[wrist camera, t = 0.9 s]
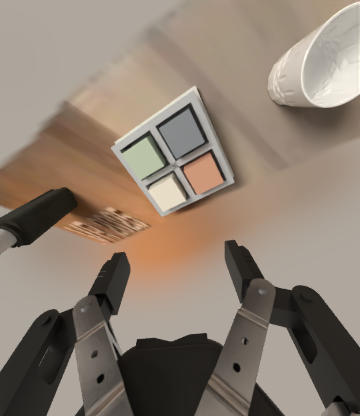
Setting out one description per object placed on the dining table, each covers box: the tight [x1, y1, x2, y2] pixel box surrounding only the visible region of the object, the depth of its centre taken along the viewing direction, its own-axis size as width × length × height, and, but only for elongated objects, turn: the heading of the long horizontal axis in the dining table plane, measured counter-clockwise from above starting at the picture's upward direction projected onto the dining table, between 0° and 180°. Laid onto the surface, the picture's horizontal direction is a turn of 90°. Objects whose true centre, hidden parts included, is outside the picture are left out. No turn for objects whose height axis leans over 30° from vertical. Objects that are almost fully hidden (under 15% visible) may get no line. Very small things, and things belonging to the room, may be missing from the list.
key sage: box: [121, 135, 167, 180], centre depth 27 cm, size 5×5×3 cm
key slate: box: [159, 109, 204, 159], centre depth 25 cm, size 5×5×3 cm
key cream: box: [148, 172, 186, 212], centre depth 30 cm, size 5×5×3 cm
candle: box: [0, 187, 77, 254], centre depth 26 cm, size 5×5×25 cm
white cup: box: [268, 2, 360, 108], centre depth 20 cm, size 8×8×10 cm
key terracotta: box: [184, 152, 224, 195], centre depth 28 cm, size 5×5×3 cm
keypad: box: [111, 86, 234, 217], centre depth 29 cm, size 16×16×5 cm
